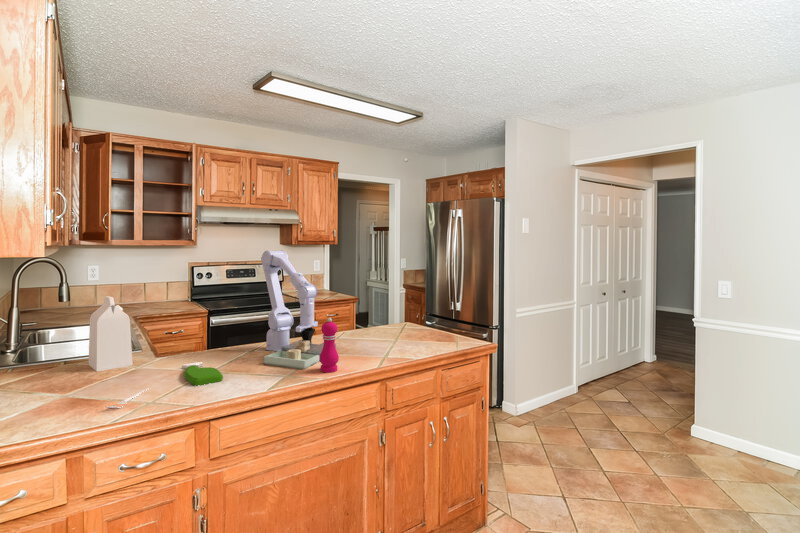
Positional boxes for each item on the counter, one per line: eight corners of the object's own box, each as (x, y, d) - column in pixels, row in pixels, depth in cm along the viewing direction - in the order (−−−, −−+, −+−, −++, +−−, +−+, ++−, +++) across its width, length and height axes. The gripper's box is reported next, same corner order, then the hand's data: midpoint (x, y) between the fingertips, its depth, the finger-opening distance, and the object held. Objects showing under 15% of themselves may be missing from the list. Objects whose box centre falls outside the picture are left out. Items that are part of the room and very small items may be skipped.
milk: (88, 364, 166) (86, 296, 165) (123, 358, 175) (121, 294, 173) (96, 371, 158) (95, 300, 157) (132, 365, 167) (131, 297, 165)
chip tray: (264, 364, 172) (264, 356, 172) (281, 356, 182) (281, 349, 182) (304, 369, 166) (304, 361, 166) (319, 361, 177) (319, 353, 177)
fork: (155, 389, 143) (155, 384, 143) (115, 412, 123) (115, 406, 123) (145, 389, 143) (145, 384, 143) (103, 412, 123) (103, 406, 123)
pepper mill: (342, 370, 166) (343, 318, 165) (327, 374, 160) (327, 320, 159) (330, 366, 171) (331, 315, 169) (315, 370, 165) (315, 317, 164)
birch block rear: (296, 351, 180) (296, 341, 180) (301, 349, 184) (301, 339, 184) (304, 352, 179) (304, 342, 179) (309, 350, 183) (309, 340, 182)
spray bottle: (192, 388, 144) (174, 370, 163) (226, 382, 151) (205, 366, 170) (191, 379, 144) (174, 363, 163) (225, 373, 151) (205, 358, 170)
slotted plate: (281, 356, 183) (281, 347, 183) (299, 348, 196) (299, 340, 196) (319, 361, 177) (319, 351, 177) (335, 353, 190) (335, 344, 190)
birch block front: (292, 358, 178) (286, 361, 174) (292, 348, 177) (286, 351, 174) (300, 359, 177) (295, 362, 173) (300, 349, 176) (295, 352, 172)
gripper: (306, 317, 176) (306, 350, 176) (324, 311, 189) (323, 342, 190) (291, 316, 178) (291, 349, 179) (309, 310, 191) (309, 341, 192)
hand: (306, 345), depth 184 cm, fingers closed
